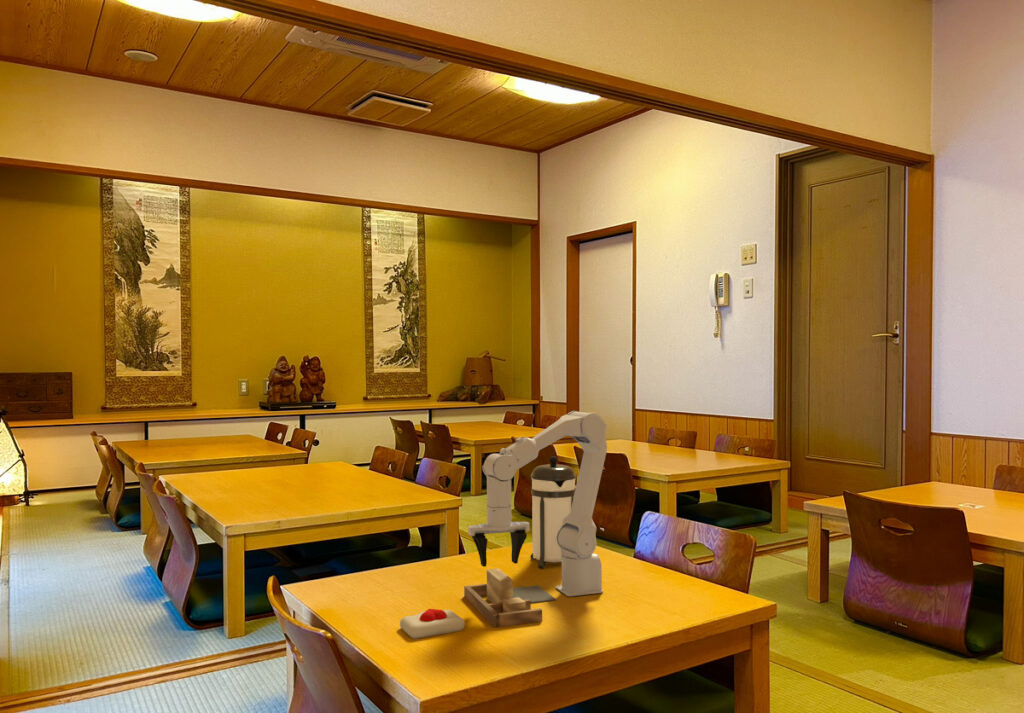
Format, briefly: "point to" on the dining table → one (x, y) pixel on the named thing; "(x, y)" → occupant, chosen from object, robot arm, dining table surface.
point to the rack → (500, 608)
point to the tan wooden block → (498, 586)
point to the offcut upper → (514, 604)
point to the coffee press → (550, 508)
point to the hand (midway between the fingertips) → (499, 564)
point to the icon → (431, 623)
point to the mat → (532, 594)
